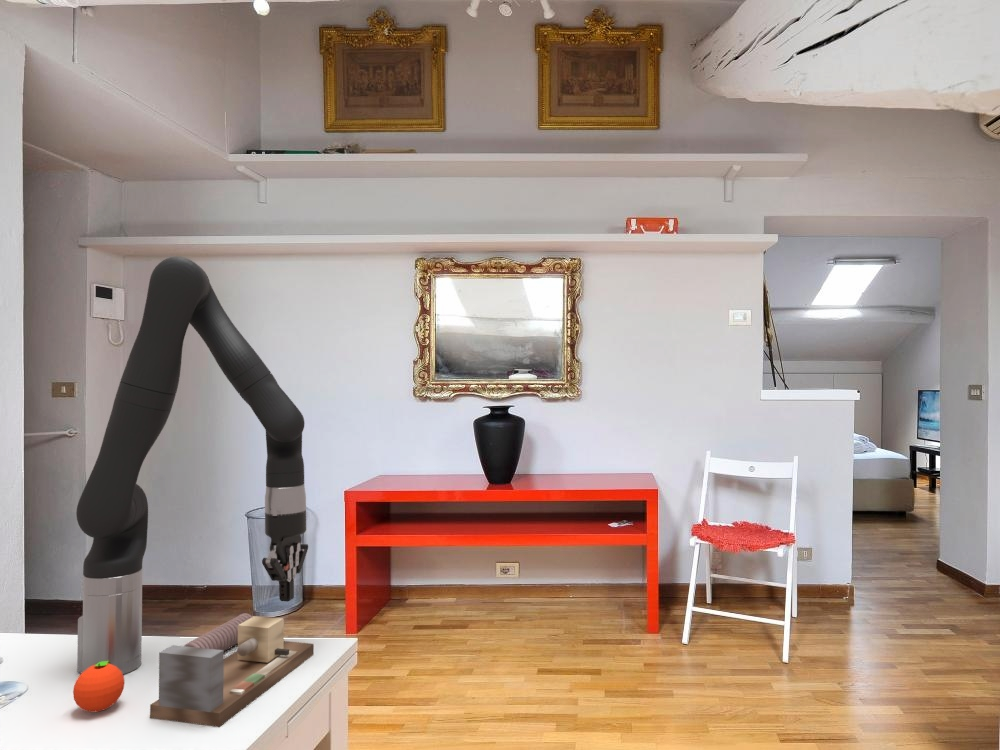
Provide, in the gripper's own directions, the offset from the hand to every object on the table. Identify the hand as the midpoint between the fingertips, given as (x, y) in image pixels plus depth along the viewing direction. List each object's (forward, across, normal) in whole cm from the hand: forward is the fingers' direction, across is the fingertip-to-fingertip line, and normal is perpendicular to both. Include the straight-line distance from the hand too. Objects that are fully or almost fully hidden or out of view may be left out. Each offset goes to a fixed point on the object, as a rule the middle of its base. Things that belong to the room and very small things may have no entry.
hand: (286, 600), depth 128 cm
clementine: (+10, +27, -16) cm, 33 cm away
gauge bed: (+10, +14, 0) cm, 17 cm away
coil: (+10, +2, -13) cm, 17 cm away
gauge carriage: (+7, +9, +1) cm, 12 cm away
